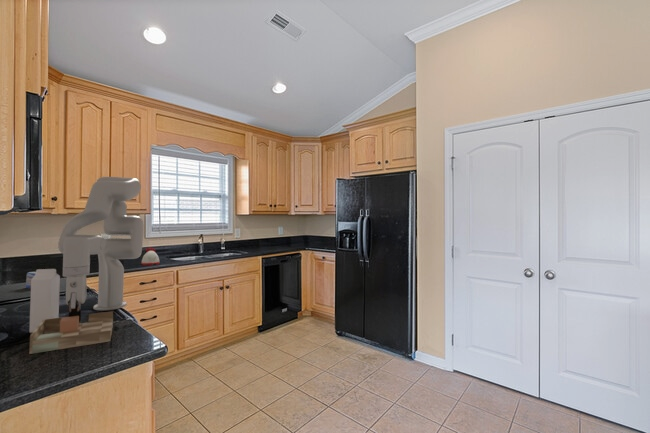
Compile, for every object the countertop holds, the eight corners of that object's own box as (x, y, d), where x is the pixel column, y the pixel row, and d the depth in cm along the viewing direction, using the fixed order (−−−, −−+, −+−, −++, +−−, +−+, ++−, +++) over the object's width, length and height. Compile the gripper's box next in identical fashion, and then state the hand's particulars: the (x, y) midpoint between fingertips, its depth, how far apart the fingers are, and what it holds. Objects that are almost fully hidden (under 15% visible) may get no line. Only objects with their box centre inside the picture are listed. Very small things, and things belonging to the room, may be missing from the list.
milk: (49, 331, 111) (51, 270, 111) (28, 332, 109) (31, 270, 109) (58, 325, 116) (60, 267, 116) (38, 326, 114) (40, 268, 115)
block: (62, 329, 106) (62, 317, 106) (78, 326, 109) (79, 315, 109) (59, 333, 102) (60, 321, 102) (76, 330, 105) (77, 319, 105)
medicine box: (25, 288, 174) (26, 272, 174) (34, 286, 178) (35, 271, 178) (36, 289, 172) (36, 273, 172) (45, 287, 176) (45, 272, 176)
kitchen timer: (140, 263, 273) (141, 246, 273) (157, 262, 281) (158, 246, 281) (142, 265, 262) (143, 247, 262) (160, 264, 270) (161, 247, 270)
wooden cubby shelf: (43, 335, 107) (43, 319, 107) (112, 325, 118) (113, 311, 118) (29, 353, 92) (30, 335, 92) (110, 341, 103) (110, 324, 103)
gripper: (87, 273, 106) (85, 326, 105) (91, 267, 118) (90, 315, 118) (58, 275, 101) (56, 330, 101) (66, 268, 114) (64, 317, 114)
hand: (74, 322), depth 110 cm, fingers closed
